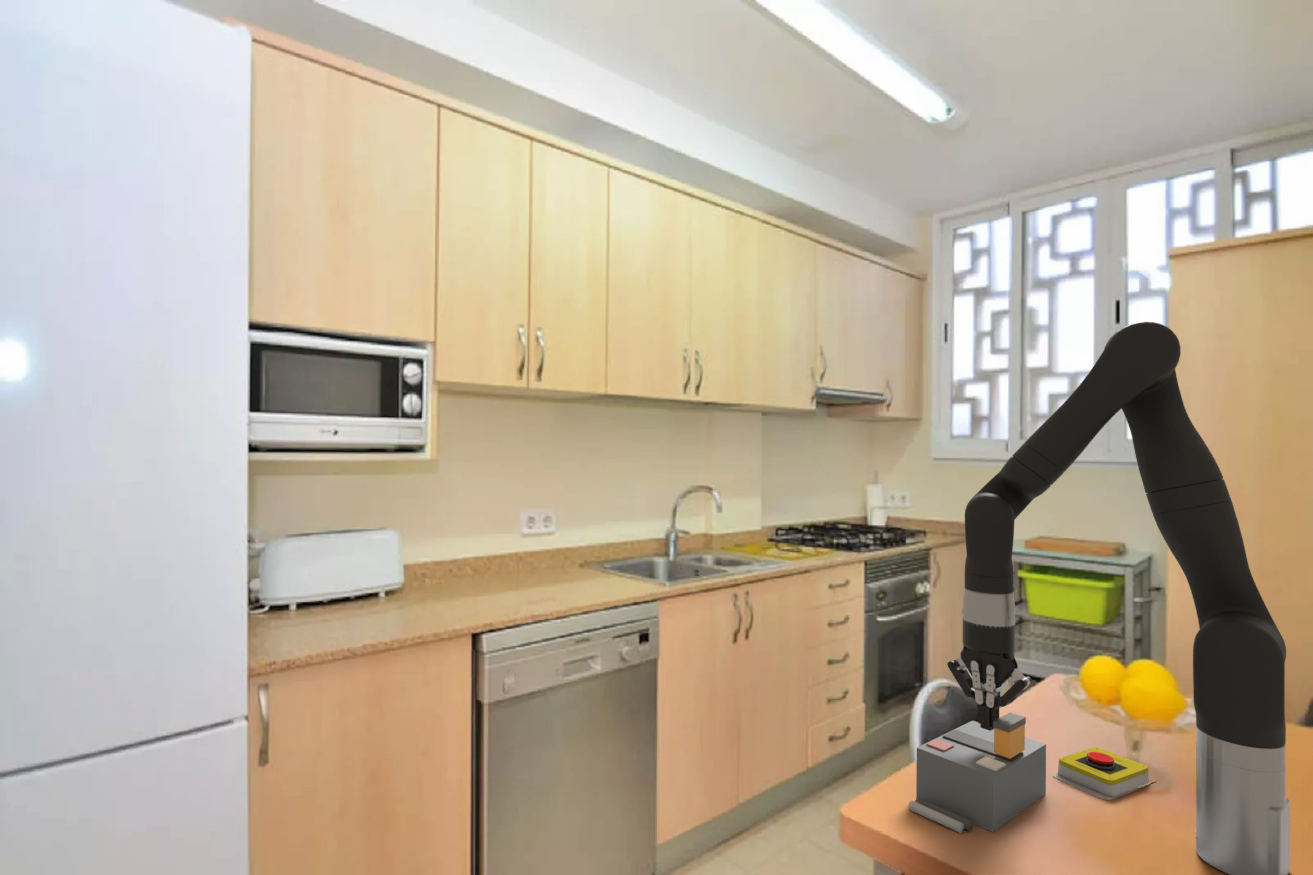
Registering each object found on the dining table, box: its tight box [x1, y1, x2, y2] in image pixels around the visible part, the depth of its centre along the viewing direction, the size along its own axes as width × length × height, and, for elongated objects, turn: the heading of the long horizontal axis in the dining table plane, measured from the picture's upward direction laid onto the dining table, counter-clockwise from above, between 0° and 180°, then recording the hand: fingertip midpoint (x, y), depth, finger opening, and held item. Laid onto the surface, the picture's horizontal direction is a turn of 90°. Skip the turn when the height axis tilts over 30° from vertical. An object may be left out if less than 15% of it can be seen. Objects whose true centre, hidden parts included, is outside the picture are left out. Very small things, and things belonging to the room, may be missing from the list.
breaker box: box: [915, 720, 1047, 833], centre depth 110 cm, size 12×18×8 cm, turn 129°
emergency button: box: [1052, 746, 1150, 801], centre depth 116 cm, size 9×4×15 cm
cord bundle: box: [907, 799, 974, 834], centre depth 102 cm, size 9×3×1 cm, turn 39°
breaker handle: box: [993, 712, 1027, 759], centre depth 106 cm, size 2×6×5 cm, turn 129°
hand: (987, 728), depth 109 cm, fingers closed
